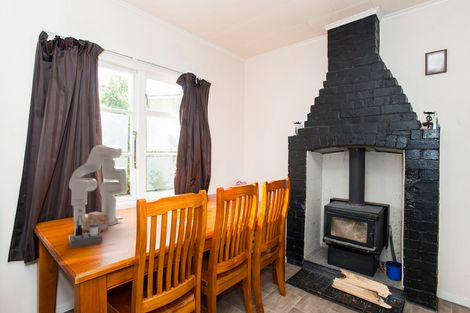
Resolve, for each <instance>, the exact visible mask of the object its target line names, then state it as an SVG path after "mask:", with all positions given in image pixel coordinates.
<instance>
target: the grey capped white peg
mask: <svg viewBox="0 0 470 313" xmlns="http://www.w3.org/2000/svg"><path fill="white" fill-rule="evenodd" d="M89 233H90V237H92V236H98V224H97V223H94V224H90V231H89Z"/></svg>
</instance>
